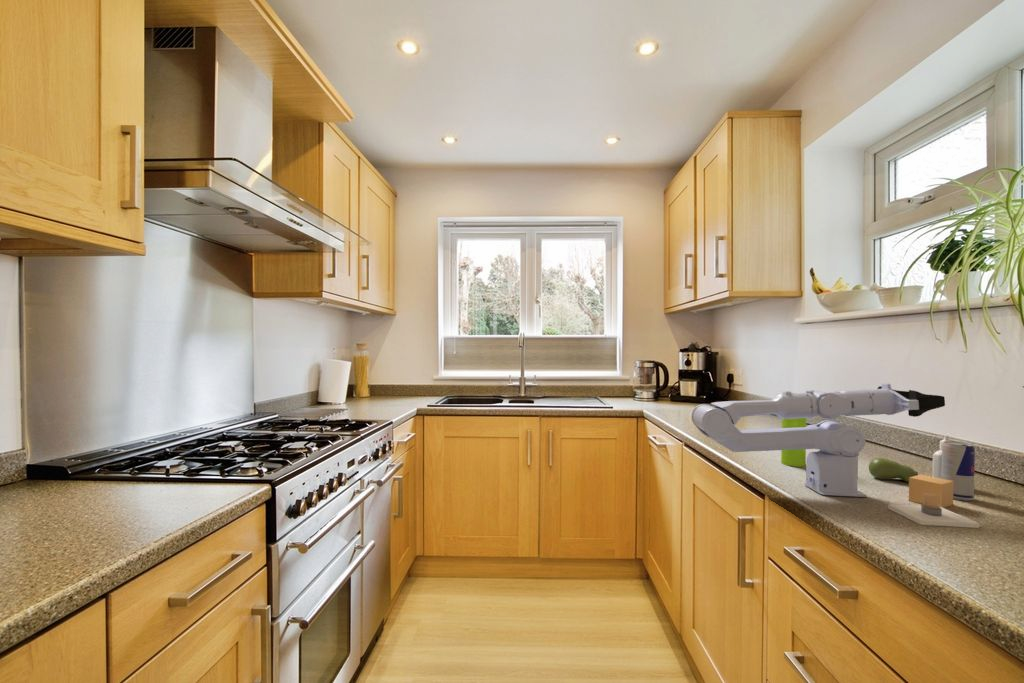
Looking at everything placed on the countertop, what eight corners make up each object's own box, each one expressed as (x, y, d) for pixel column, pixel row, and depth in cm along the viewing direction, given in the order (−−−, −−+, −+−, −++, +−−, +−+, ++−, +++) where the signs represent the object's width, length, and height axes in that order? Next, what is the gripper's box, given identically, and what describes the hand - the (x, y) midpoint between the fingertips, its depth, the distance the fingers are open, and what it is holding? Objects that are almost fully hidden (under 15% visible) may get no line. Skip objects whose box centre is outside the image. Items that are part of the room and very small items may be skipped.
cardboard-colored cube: (941, 508, 99) (942, 484, 99) (908, 500, 103) (909, 477, 103) (953, 504, 101) (953, 481, 101) (920, 496, 106) (920, 474, 106)
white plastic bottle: (965, 489, 113) (966, 438, 113) (935, 486, 115) (936, 436, 115) (955, 484, 117) (956, 435, 117) (927, 481, 119) (927, 433, 119)
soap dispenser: (787, 467, 131) (788, 394, 131) (777, 461, 138) (779, 391, 138) (811, 468, 130) (812, 394, 130) (800, 462, 137) (801, 392, 137)
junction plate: (920, 524, 89) (921, 501, 89) (888, 508, 98) (888, 487, 98) (979, 527, 88) (979, 504, 88) (940, 510, 97) (941, 489, 97)
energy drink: (980, 502, 103) (981, 446, 103) (951, 500, 104) (952, 445, 104) (962, 494, 109) (963, 441, 109) (935, 492, 110) (936, 440, 110)
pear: (867, 453, 124) (914, 464, 121) (863, 473, 124) (909, 484, 121) (876, 458, 119) (924, 469, 115) (871, 478, 119) (919, 490, 116)
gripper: (885, 387, 101) (954, 383, 100) (844, 382, 116) (905, 378, 114) (887, 420, 101) (957, 417, 100) (847, 411, 116) (907, 408, 114)
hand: (929, 399), depth 107 cm, fingers open, 7 cm apart
